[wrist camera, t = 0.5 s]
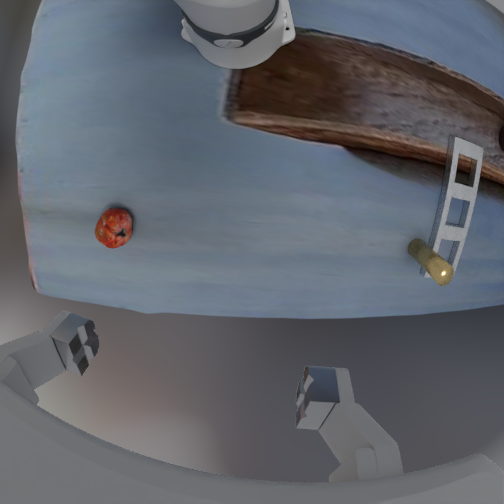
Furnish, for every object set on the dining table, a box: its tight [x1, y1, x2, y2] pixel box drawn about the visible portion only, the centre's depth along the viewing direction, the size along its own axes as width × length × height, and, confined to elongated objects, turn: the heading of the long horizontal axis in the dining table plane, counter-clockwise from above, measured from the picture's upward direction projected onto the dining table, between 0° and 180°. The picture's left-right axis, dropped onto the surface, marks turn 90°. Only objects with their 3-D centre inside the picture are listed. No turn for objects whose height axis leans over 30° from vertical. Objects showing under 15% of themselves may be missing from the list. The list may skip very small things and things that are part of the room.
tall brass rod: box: [408, 239, 454, 286], centre depth 45 cm, size 4×4×12 cm
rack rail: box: [420, 136, 484, 278], centre depth 46 cm, size 30×9×2 cm, turn 177°
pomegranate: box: [95, 208, 132, 248], centre depth 47 cm, size 7×7×10 cm
